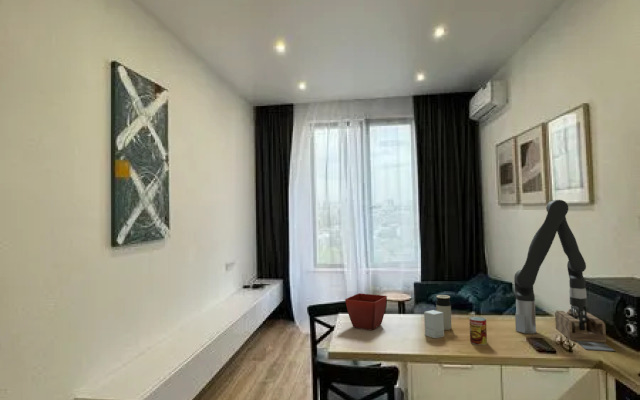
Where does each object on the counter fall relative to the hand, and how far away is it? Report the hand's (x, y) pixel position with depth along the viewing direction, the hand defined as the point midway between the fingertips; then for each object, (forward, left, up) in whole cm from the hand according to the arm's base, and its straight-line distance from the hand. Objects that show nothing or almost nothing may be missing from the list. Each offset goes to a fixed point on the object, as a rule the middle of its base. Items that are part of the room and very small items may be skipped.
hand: (579, 327), depth 203 cm
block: (0, 0, -1) cm, 1 cm away
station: (-4, -6, -4) cm, 8 cm away
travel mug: (-55, +40, -4) cm, 68 cm away
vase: (+15, +14, -4) cm, 21 cm away
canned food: (-56, +13, -4) cm, 58 cm away
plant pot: (-93, +62, -4) cm, 112 cm away
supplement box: (-69, +31, -4) cm, 76 cm away
